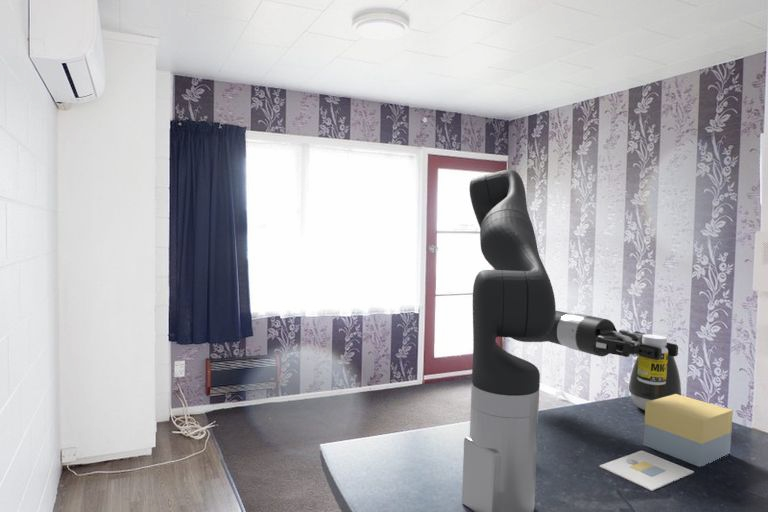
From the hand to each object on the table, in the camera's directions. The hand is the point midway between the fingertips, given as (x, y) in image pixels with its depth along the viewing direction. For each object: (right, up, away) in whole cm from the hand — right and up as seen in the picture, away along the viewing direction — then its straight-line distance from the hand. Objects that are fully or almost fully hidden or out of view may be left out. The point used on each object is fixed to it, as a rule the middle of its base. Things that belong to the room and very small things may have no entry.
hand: (668, 352), depth 92 cm
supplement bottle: (-2, -6, +3) cm, 7 cm away
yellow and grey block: (+4, -18, +1) cm, 18 cm away
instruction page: (-8, -18, -7) cm, 21 cm away
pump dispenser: (+9, -17, +22) cm, 29 cm away
